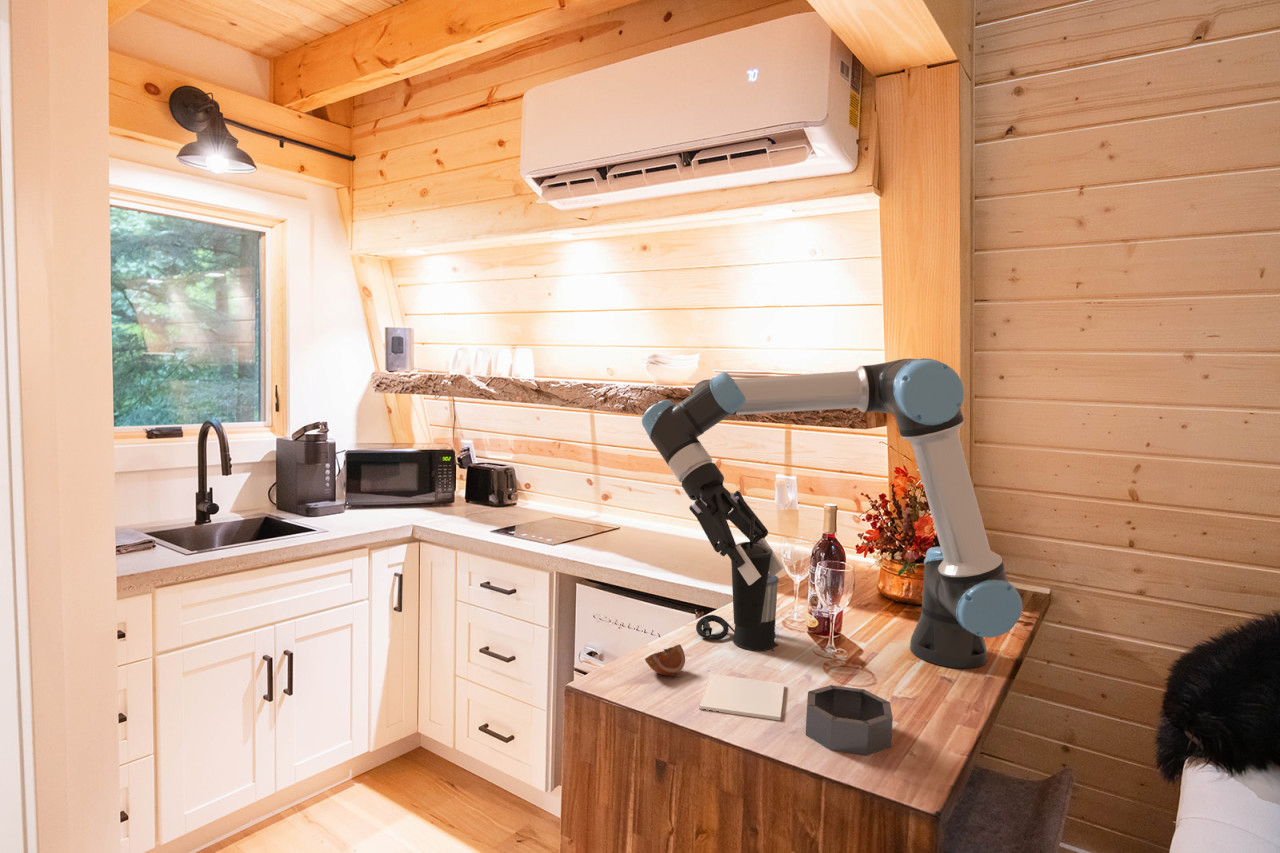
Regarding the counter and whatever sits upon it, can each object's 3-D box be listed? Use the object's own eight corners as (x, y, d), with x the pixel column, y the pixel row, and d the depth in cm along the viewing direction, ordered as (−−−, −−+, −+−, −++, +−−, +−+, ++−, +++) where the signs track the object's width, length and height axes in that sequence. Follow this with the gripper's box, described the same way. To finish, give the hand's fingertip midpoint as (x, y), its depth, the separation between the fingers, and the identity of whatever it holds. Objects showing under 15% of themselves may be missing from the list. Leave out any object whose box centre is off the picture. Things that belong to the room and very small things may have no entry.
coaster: (784, 686, 146) (784, 683, 146) (780, 720, 132) (780, 717, 132) (710, 676, 149) (710, 673, 149) (699, 709, 135) (699, 705, 135)
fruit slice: (660, 685, 145) (661, 659, 144) (636, 673, 150) (637, 648, 149) (691, 673, 150) (692, 648, 150) (666, 662, 155) (667, 638, 155)
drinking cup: (720, 626, 137) (726, 515, 135) (732, 613, 144) (737, 508, 142) (763, 634, 134) (769, 521, 132) (772, 620, 141) (778, 512, 139)
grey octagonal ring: (885, 720, 134) (887, 692, 133) (892, 759, 121) (895, 728, 120) (806, 709, 137) (808, 682, 136) (805, 746, 124) (806, 716, 123)
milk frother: (783, 650, 164) (787, 582, 162) (713, 655, 160) (716, 585, 158) (755, 626, 178) (758, 563, 176) (690, 630, 173) (693, 566, 172)
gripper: (715, 479, 154) (782, 576, 146) (651, 490, 140) (721, 600, 131) (739, 456, 150) (809, 554, 142) (675, 465, 136) (749, 576, 127)
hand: (766, 576), depth 136 cm, fingers closed on drinking cup, 7 cm apart
